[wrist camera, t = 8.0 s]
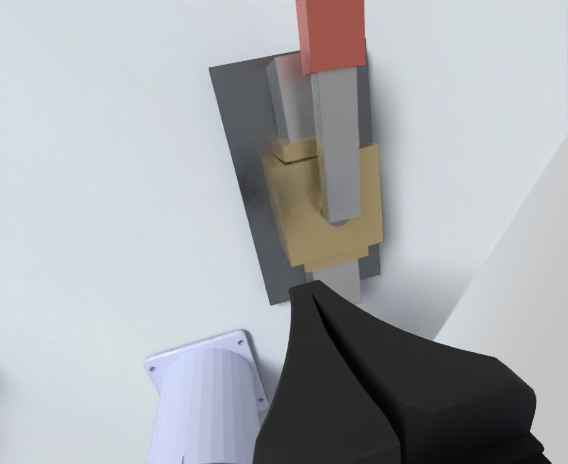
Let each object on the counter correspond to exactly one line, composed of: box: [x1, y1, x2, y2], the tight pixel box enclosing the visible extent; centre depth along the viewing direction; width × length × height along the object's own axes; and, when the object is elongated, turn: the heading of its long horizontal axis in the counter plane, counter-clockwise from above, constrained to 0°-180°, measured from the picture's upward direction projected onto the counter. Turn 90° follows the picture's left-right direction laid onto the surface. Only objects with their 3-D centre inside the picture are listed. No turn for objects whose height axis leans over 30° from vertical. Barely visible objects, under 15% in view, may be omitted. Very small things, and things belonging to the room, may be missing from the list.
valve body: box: [209, 38, 383, 306], centre depth 18 cm, size 16×9×5 cm, turn 11°
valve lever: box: [296, 0, 365, 227], centre depth 13 cm, size 11×2×2 cm, turn 8°
